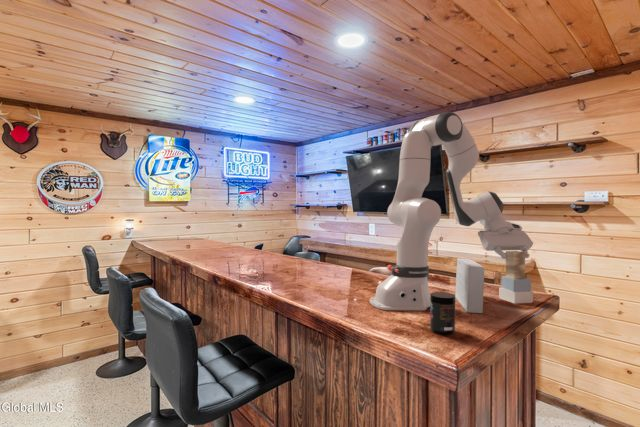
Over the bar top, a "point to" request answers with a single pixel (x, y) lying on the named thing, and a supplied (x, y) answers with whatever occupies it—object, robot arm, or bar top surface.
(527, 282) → the top block
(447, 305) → the supplement container
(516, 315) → the bar top surface
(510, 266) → the maple pillar
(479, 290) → the skincare box
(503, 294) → the base block
